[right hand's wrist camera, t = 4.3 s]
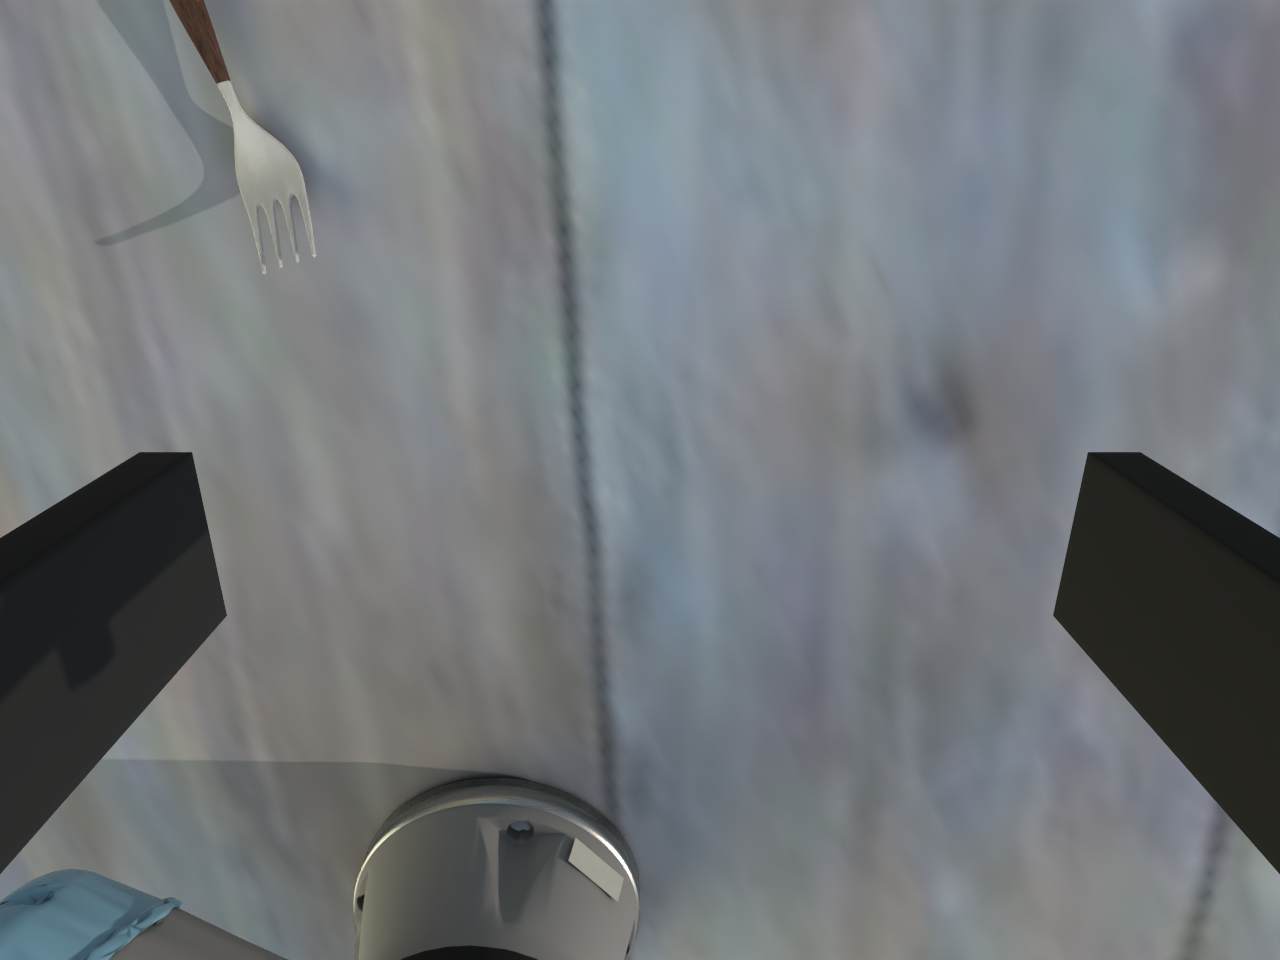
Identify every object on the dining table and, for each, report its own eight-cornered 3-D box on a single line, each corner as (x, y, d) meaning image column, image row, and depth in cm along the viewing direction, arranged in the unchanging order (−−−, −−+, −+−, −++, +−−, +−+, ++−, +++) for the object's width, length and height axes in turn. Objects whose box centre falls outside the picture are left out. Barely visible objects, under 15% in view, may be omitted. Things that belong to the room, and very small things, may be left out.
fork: (138, -211, 28) (104, -236, 27) (337, 250, 34) (319, 255, 32) (71, -183, 29) (32, -207, 27) (278, 269, 34) (258, 276, 32)
